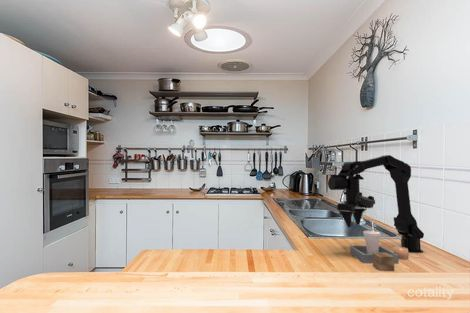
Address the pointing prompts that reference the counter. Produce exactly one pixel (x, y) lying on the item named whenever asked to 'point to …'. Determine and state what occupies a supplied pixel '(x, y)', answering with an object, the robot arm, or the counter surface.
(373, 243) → the smoothie
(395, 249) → the brown short cylinder
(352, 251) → the tray
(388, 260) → the walnut block
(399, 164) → the robot arm
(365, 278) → the counter surface
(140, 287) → the counter surface
